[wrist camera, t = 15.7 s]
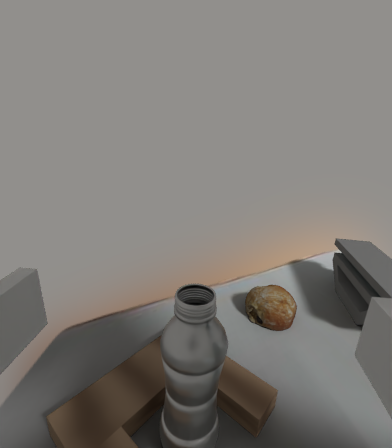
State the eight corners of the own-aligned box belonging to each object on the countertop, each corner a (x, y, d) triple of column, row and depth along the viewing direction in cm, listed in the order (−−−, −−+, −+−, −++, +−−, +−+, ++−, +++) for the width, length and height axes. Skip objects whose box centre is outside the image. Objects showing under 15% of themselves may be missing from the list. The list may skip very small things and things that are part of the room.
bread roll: (238, 323, 55) (232, 301, 50) (262, 288, 60) (259, 265, 56) (283, 349, 49) (280, 327, 44) (305, 308, 54) (305, 284, 49)
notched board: (177, 337, 46) (177, 323, 45) (274, 407, 35) (277, 390, 34) (49, 434, 30) (46, 416, 29) (151, 612, 19) (151, 593, 18)
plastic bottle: (157, 418, 33) (155, 278, 26) (210, 409, 34) (221, 273, 27) (161, 482, 27) (160, 322, 20) (225, 468, 28) (243, 313, 21)
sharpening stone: (423, 358, 44) (446, 303, 40) (373, 351, 45) (391, 297, 41) (358, 280, 67) (370, 241, 64) (326, 277, 68) (335, 238, 65)
